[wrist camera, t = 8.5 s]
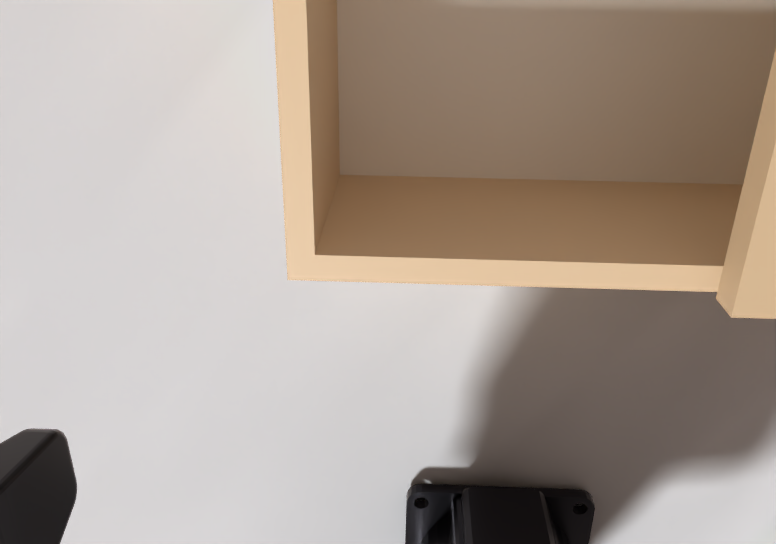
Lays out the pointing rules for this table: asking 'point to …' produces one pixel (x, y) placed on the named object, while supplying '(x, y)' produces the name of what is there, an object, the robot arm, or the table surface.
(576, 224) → the mailer box
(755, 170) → the mailer lid
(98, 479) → the table surface
